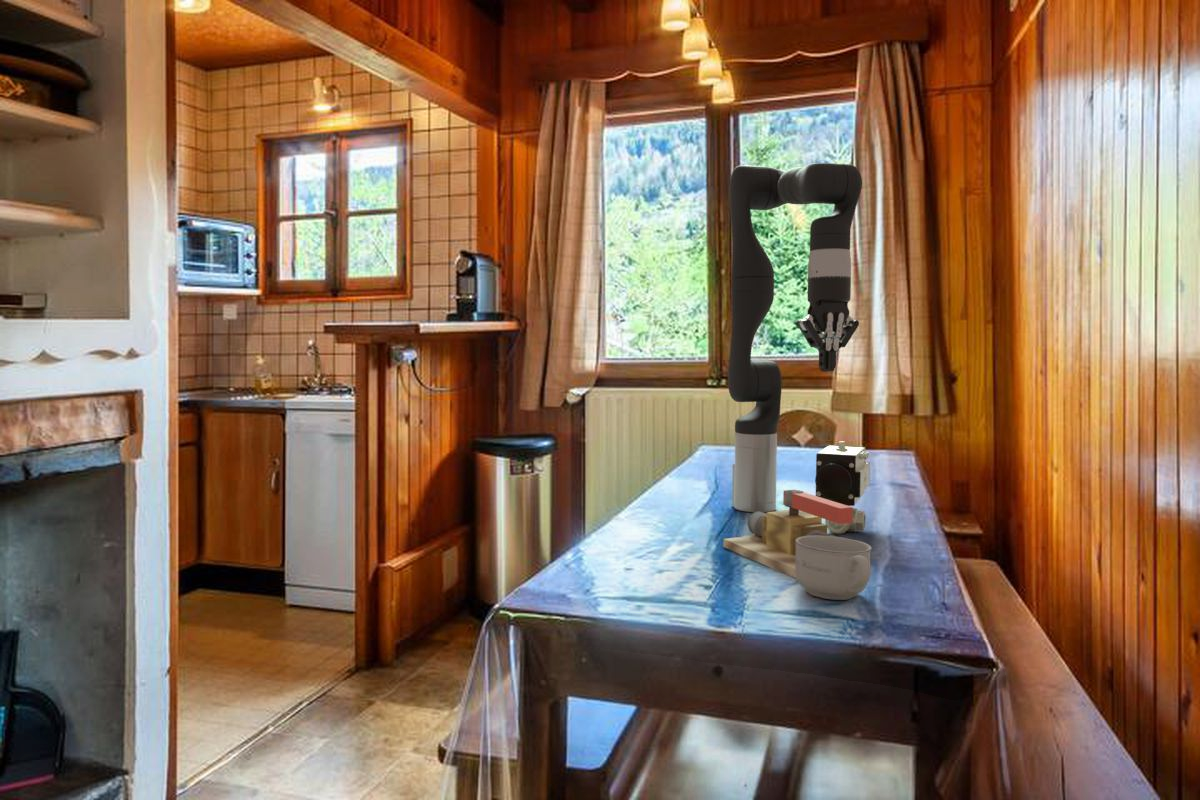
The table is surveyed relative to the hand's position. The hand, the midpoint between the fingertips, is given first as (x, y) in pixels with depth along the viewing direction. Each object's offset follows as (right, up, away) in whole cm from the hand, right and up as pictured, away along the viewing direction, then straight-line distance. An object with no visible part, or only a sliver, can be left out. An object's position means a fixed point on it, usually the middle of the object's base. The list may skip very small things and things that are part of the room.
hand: (827, 371), depth 143 cm
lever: (-6, -24, -13) cm, 28 cm away
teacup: (-7, -35, -28) cm, 45 cm away
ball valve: (+7, -31, +12) cm, 34 cm away
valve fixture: (-8, -33, -7) cm, 34 cm away
